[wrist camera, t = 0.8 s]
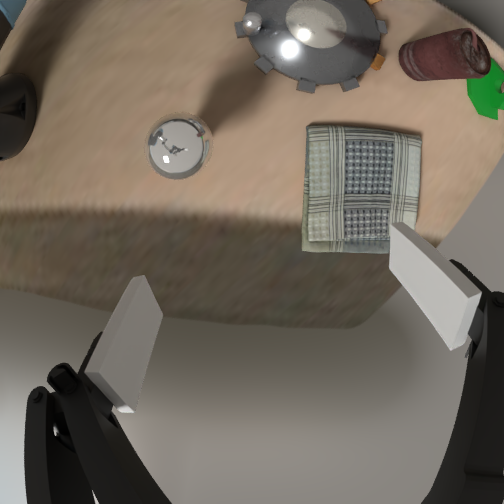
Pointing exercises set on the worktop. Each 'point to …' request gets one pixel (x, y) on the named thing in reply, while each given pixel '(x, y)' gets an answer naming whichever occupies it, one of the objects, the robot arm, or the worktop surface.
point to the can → (446, 56)
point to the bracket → (488, 92)
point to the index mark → (371, 1)
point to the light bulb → (178, 146)
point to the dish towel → (358, 187)
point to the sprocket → (314, 40)
